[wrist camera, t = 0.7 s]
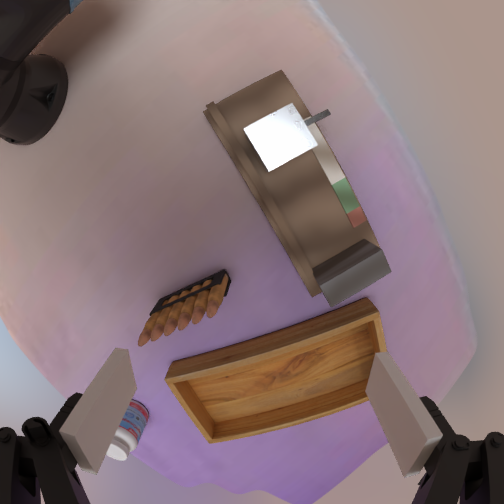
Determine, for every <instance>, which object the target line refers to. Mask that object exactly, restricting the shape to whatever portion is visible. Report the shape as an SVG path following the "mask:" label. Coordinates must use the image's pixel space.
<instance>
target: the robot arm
mask: <svg viewBox="0 0 504 504" xmlns="http://www.w3.org/2000/svg"><path fill="white" fill-rule="evenodd" d="M82 1H83V0H0V137H1V138H2V139H4V140H6V141H7V142H9V143H12V144H18V145H28V144H31V143H34V142H36V141H37V140H39V139H40V138H42V137H43V136H44V135H45V134H46V133H47V132H48V131H49V130H50V128H51V127H52V126H53V124H54V123H55V121H56V120H57V118H58V116H59V114H60V112H61V110H62V107H63V105H64V102H65V98H66V93H67V86H68V79H67V73H66V70H65V67H64V66H63V64H62V63H61V62H60V61H59V60H57V59H55V58H53V57H51V56H49V55H45V54H39V55H29V53H30V52H31V51H32V50H33V49H34V48H35V47H36V46H37V45H38V43H39V42H40V41H41V40H42V39H43V38H44V37H45V36H46V35H47V34H48V33H49V32H50V31H51V30H52V29H53V28H54V27H55V26H56V25H57V24H58V23H59V22H60V21H61V20H62V19H63V18H64V17H65V16H67V15H68V14H71V13H72V12H73V11H74V8H75V7H76V6H77V5H78V4H80V3H81V2H82ZM136 389H137V387H136V383H135V378H134V374H133V370H132V365H131V361H130V356H129V351H128V349H120V348H115V349H114V351H113V352H112V354H111V355H110V356H109V358H108V359H107V361H106V362H105V364H104V365H103V366H102V368H101V369H100V371H99V372H98V373H97V375H96V376H95V378H94V379H93V381H92V382H91V384H90V385H89V387H88V388H87V389H86V391H85V392H84V394H81V393H75V394H73V395H72V396H71V397H69V398H68V399H67V401H66V402H65V404H64V406H63V407H62V408H61V409H60V412H58V414H57V415H56V417H55V418H54V419H53V421H52V422H51V424H50V425H48V423H47V421H46V420H45V419H43V418H40V417H32V418H30V419H28V420H26V421H25V422H24V424H23V425H22V432H23V433H24V435H25V437H24V436H17V434H16V433H15V431H14V430H13V429H11V428H9V427H3V428H0V504H41V496H40V488H41V492H42V495H43V498H44V501H45V504H90V502H89V500H88V498H87V496H86V493H85V491H84V489H83V486H82V484H81V482H80V479H79V477H78V474H77V472H76V471H75V467H76V465H77V463H78V465H79V466H80V468H81V470H83V471H86V472H89V473H92V474H95V475H97V473H98V471H99V468H100V466H101V464H102V462H103V460H104V457H105V455H106V453H107V451H108V449H109V446H110V444H111V442H112V440H113V438H114V436H115V433H116V431H117V429H118V427H119V425H120V423H121V421H122V418H123V416H124V414H125V412H126V410H127V408H128V406H129V404H130V402H131V400H132V398H133V396H134V394H135V391H136ZM365 392H366V394H367V396H368V398H369V401H370V403H371V405H372V407H373V409H374V411H375V413H376V416H377V418H378V420H379V422H380V424H381V426H382V429H383V431H384V433H385V435H386V438H387V440H388V442H389V444H390V446H391V449H392V451H393V453H394V455H395V458H396V460H397V462H398V465H399V467H400V469H401V472H402V474H403V476H404V478H406V477H409V476H413V475H416V474H419V472H420V471H421V469H422V468H423V467H425V470H426V473H425V475H424V476H423V478H422V479H421V480H420V482H419V483H418V485H420V486H419V489H418V491H417V493H416V495H415V498H414V500H413V502H412V504H457V502H458V499H459V496H460V504H504V435H503V434H501V433H499V432H491V433H489V434H488V435H487V437H486V438H485V439H484V440H481V441H470V440H469V439H468V438H467V437H466V436H463V435H457V434H455V432H454V431H453V429H452V428H451V426H450V425H449V423H448V422H447V420H446V419H445V417H444V416H443V415H442V413H441V411H440V410H438V407H437V406H436V404H435V403H434V401H432V400H431V399H429V398H428V397H427V396H425V397H420V398H419V397H418V395H417V394H416V392H415V391H414V389H413V388H412V386H411V385H410V383H409V382H408V380H407V379H406V377H405V376H404V374H403V373H402V371H401V370H400V368H399V367H398V366H397V364H396V363H395V361H394V360H393V358H392V357H391V355H390V354H389V353H388V352H379V353H375V357H374V361H373V365H372V368H371V372H370V376H369V380H368V383H367V387H366V390H365Z"/></svg>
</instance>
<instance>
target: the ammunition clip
mask: <svg viewBox="0 0 504 504" xmlns="http://www.w3.org/2000/svg"><path fill="white" fill-rule="evenodd" d="M230 283H231V279H230V277H229V275H228V273H227V272H226V270H222V271H220V272H218V273H215V274H213V275H211V276H209V277H207V278H205V279H203V280H200V281H198V282H196V283H194V284H192V285H190V286H187V287H185V288H183V289H181V290H179V291H177V292H175V293H172V294H170V295H168V296H166V297H164V298H162V299H160V300H159V301H158V302H157V304H156V305H155V307H154V308H153V310H152V311H151V313H150V316H151V317H150V318H149V319H148V321H147V322H146V324H145V327H144V329H143V331H142V333H141V335H140V337H139V340H138V346H143V345H144V344H146V343H147V342H148V341H149V339H150V338H151V341H156V340H157V339H158V338H159V337H160V336H161V335H162V334H163V332H164V335H165V336H168V335H170V334H171V333H172V332H173V331H174V330H175V328H176V327H177V325H178V330H183V329H184V328H185V327H186V326H187V325H188V324H189V322H190V320H191V318H192V323H193V324H197V323H199V322H200V321H201V319H202V318H203V315H204V314H205V312H207V316H208V317H209V318H212V317H213V316H214V315H215V314H216V313H217V311H218V308H219V306H220V305H221V303H222V301H223V297H225V296H226V295H227V292H228V289H229V286H230Z"/></svg>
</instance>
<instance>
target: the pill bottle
mask: <svg viewBox="0 0 504 504" xmlns="http://www.w3.org/2000/svg"><path fill="white" fill-rule="evenodd" d="M148 418H149V414H148V411H147V410H146V408H145V407H144V406H143V405H141V404H140V403H138V402H136V401H134V400H131V402H130V404H129V406H128V408H127V410H126V412H125V414H124V416H123V418H122V421H121V423H120V425H119V427H118V429H117V431H116V433H115V436H114V438H113V440H112V442H111V444H110V446H109V449H108V451H107V453H106V455H108V456H109V457H111V458H114V459H116V460H120V461H124V460H126V459H127V457H128V455H129V452H131V451H133V450H134V449H135V448H136V447H137V445H138V442H139V440H140V437H141V435H142V433H143V430H144V428H145V425H146V423H147V421H148Z"/></svg>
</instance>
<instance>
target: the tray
mask: <svg viewBox="0 0 504 504" xmlns="http://www.w3.org/2000/svg"><path fill="white" fill-rule="evenodd" d="M379 352H387V349H386V343H385V338H384V333H383V328H382V323H381V318H380V313H379V311H378V309H377V308H376V307H375V306H374V305H373V303H372V302H371V301H370V300H369V299H368V298H364V299H362V300H359V301H357V302H354V303H352V304H350V305H347V306H345V307H342V308H340V309H337V310H334V311H332V312H329V313H327V314H324V315H321V316H319V317H316V318H313V319H310V320H308V321H305V322H302V323H299V324H296V325H294V326H291V327H288V328H285V329H282V330H279V331H276V332H273V333H270V334H267V335H264V336H261V337H257V338H254V339H251V340H248V341H245V342H241V343H238V344H235V345H231V346H228V347H224V348H221V349H217V350H214V351H210V352H207V353H203V354H200V355H196V356H192V357H188V358H185V359H181V360H177V361H173V362H172V364H171V365H170V367H169V370H168V372H167V374H166V377H165V379H164V380H165V381H166V383H167V385H168V386H169V388H170V389H171V391H172V392H173V394H174V395H175V397H176V398H177V400H178V401H179V403H180V404H181V406H182V407H183V408H184V410H185V411H186V413H187V414H188V416H189V417H190V418H191V420H192V421H193V423H194V424H195V425H196V427H197V428H198V429H199V431H200V432H201V433H202V435H203V436H204V437H205V439H206V440H207V441H208V443H209V444H210V443H217V442H223V441H229V440H234V439H240V438H244V437H249V436H254V435H258V434H263V433H267V432H271V431H275V430H279V429H283V428H287V427H291V426H294V425H298V424H301V423H304V422H308V421H311V420H315V419H318V418H321V417H324V416H327V415H330V414H333V413H336V412H339V411H342V410H345V409H348V408H350V407H353V406H356V405H358V404H361V403H364V402H366V401H369V398H368V396H367V394H366V392H365V390H366V387H367V383H368V380H369V376H370V372H371V368H372V365H373V361H374V357H375V353H379Z"/></svg>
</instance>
